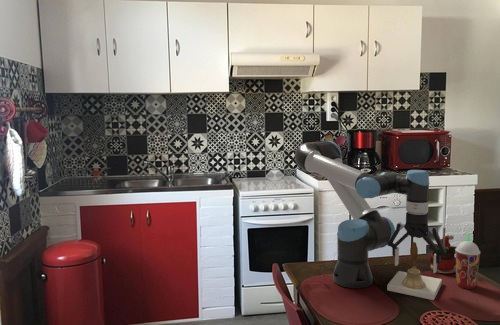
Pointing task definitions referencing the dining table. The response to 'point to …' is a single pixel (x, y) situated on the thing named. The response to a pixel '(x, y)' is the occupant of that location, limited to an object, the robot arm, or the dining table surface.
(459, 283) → the smoothie
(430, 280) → the stand
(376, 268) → the dining table surface
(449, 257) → the cake
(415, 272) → the hand bell
